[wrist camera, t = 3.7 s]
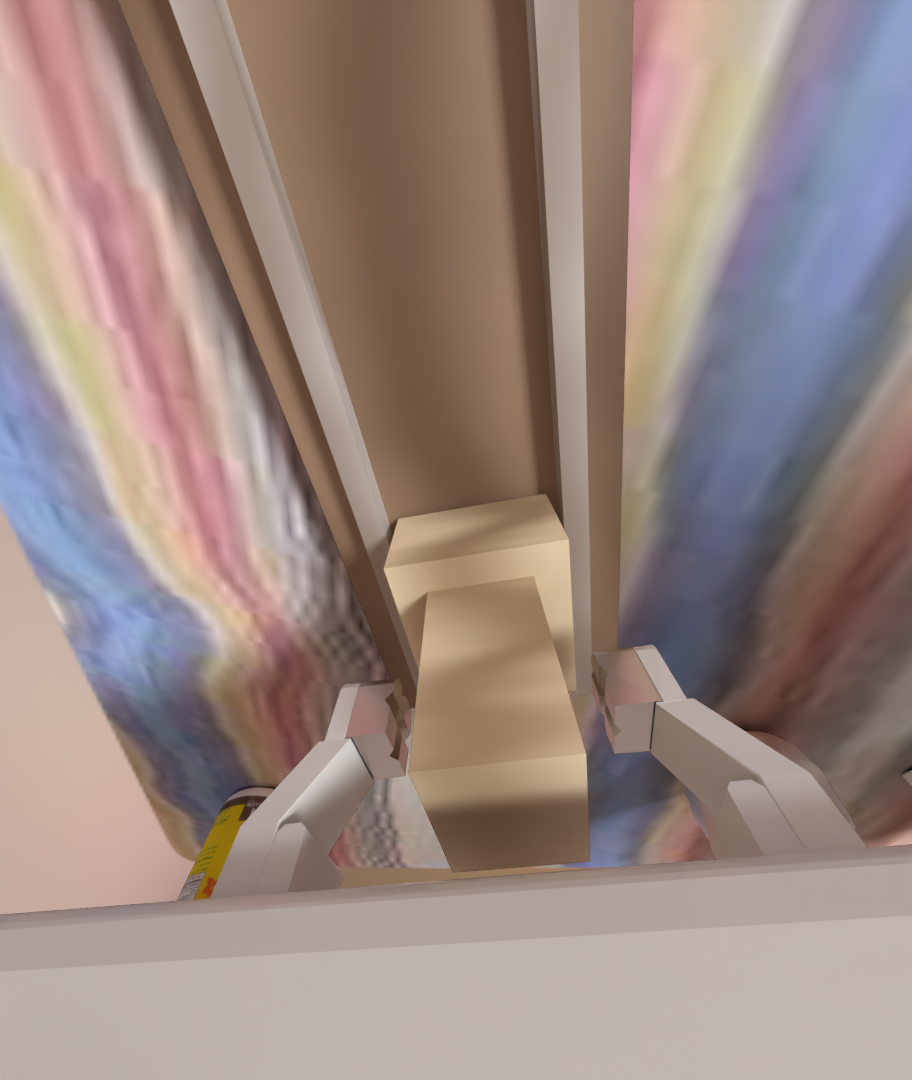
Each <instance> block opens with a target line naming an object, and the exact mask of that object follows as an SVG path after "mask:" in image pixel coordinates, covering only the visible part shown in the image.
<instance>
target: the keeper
mask: <svg viewBox="0 0 912 1080" xmlns="http://www.w3.org/2000/svg"><path fill="white" fill-rule="evenodd" d="M384 571H385V574H386V577H387V580H388V583H389V586H390V589H391V592H392V595H393V597H394V600H395V603H396V606H397V609H398V612H399V615H400V618H401V621H402V624H403V627H404V630H405V632H406V635H407V638H408V641H409V644H410V647H411V650H412V653H413V656H414V659H415V662H416V665H417V667H418V670H419V677H418V686H417V696H416V705H415V715H414V724H413V733H412V743H411V752H410V761H409V771H408V773H409V775H410V778H411V780H412V782H413V784H414V787H415V789H416V791H417V793H418V795H419V798H420V800H421V802H422V804H423V807H424V809H425V811H426V813H427V816H428V818H429V820H430V822H431V825H432V827H433V829H434V831H435V834H436V836H437V838H438V840H439V842H440V845H441V847H442V849H443V851H444V854H445V856H446V858H447V860H448V863H449V865H450V867H451V869H452V871H453V873H454V872H466V871H477V870H491V869H504V868H516V867H529V866H541V865H554V864H567V863H579V862H590V842H589V815H588V787H587V760H586V751H585V748H584V744H583V741H582V738H581V734H580V731H579V728H578V724H577V721H576V717H575V714H574V711H573V707H572V704H571V700H570V697H569V694H568V692H572V691H577V689H576V670H575V650H574V630H573V611H572V591H571V572H570V552H569V539H568V537H567V535H566V533H565V531H564V529H563V527H562V525H561V523H560V521H559V519H558V517H557V515H556V513H555V511H554V509H553V507H552V505H551V503H550V501H549V499H548V497H547V495H546V494H540V495H534V496H529V497H523V498H517V499H511V500H505V501H499V502H494V503H488V504H482V505H476V506H470V507H464V508H459V509H453V510H447V511H441V512H435V513H430V514H424V515H418V516H412V517H406V518H400V519H398V521H397V525H396V528H395V531H394V535H393V538H392V542H391V545H390V549H389V552H388V556H387V559H386V562H385V566H384Z"/></svg>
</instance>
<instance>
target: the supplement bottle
mask: <svg viewBox="0 0 912 1080" xmlns="http://www.w3.org/2000/svg"><path fill="white" fill-rule="evenodd" d="M274 790H275V789H272V788H261V787H257V788H248V789H244V790H241V791H239V792H237V793H235V794H233V795H232V796H231V797H229V798H228V799H227V801H226V802H225V803H224V805H223V807H222V809H221V810H220V813H219V815H218V817H217V819H216V821H215V823H214V825H213V827H212V829H211V831H210V833H209V835H208V837H207V839H206V841H205V843H204V845H203V847H202V850H201V852H200V854H199V856H198V858H197V860H196V862H195V864H194V866H193V868H192V870H191V872H190V874H189V876H188V878H187V880H186V883H185V884H184V887H183V889H182V891H181V893H180V895H179V897H178V899H177V901H183V900H196V899H209V898H210V897H211V894H212V892H213V890H214V887H215V885H216V883H217V880H218V878H219V876H220V873H221V871H222V869H223V866H224V864H225V862H226V859H227V857H228V855H229V852H230V850H231V848H232V845H233V843H234V841H235V838H236V836H237V834H238V831H239V829H240V827H241V825H242V824H243V823H244V822H245V821H246V820H247V819H248V818H249V817H250V816H251V815H252V813H253V812H254V811H255V810H256V809H257V808H258V807H259V806H260V805H261V804H262V803H263V802H264V801H265V799H266V798H267V797H268V796H269V795H270V794H271V793H272V792H273V791H274Z"/></svg>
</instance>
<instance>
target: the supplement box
mask: <svg viewBox="0 0 912 1080" xmlns="http://www.w3.org/2000/svg"><path fill="white" fill-rule="evenodd" d="M903 777H904V779H905V780H906V781H907V782H908V783H909V784H910V785H911V786H912V770H910V771H908V772H906V773H905V774H903Z"/></svg>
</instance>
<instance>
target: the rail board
mask: <svg viewBox="0 0 912 1080" xmlns="http://www.w3.org/2000/svg"><path fill="white" fill-rule="evenodd" d="M118 2H119V4H120V7H121V9H122V12H123V14H124V17H125V19H126V22H127V24H128V27H129V29H130V32H131V34H132V37H133V39H134V42H135V44H136V47H137V49H138V52H139V54H140V57H141V59H142V62H143V64H144V67H145V69H146V72H147V74H148V76H149V79H150V81H151V84H152V86H153V89H154V91H155V94H156V96H157V99H158V101H159V104H160V106H161V109H162V111H163V114H164V116H165V119H166V121H167V124H168V126H169V129H170V131H171V134H172V136H173V139H174V141H175V144H176V146H177V149H178V151H179V154H180V156H181V159H182V161H183V164H184V166H185V169H186V171H187V174H188V176H189V179H190V181H191V184H192V186H193V189H194V191H195V194H196V196H197V199H198V201H199V203H200V206H201V208H202V211H203V213H204V216H205V218H206V221H207V223H208V226H209V228H210V231H211V233H212V236H213V238H214V241H215V243H216V246H217V248H218V251H219V253H220V256H221V258H222V261H223V263H224V266H225V268H226V271H227V273H228V276H229V278H230V281H231V283H232V286H233V288H234V291H235V293H236V296H237V298H238V301H239V303H240V306H241V308H242V311H243V313H244V316H245V318H246V321H247V323H248V325H249V328H250V330H251V333H252V335H253V338H254V340H255V343H256V345H257V348H258V350H259V353H260V355H261V358H262V360H263V363H264V365H265V368H266V370H267V373H268V375H269V378H270V380H271V383H272V385H273V388H274V390H275V393H276V395H277V398H278V400H279V403H280V405H281V408H282V410H283V413H284V415H285V418H286V420H287V423H288V425H289V428H290V430H291V433H292V435H293V438H294V440H295V443H296V445H297V447H298V450H299V452H300V455H301V457H302V460H303V462H304V465H305V467H306V470H307V472H308V475H309V477H310V480H311V482H312V485H313V487H314V490H315V492H316V495H317V497H318V500H319V502H320V505H321V507H322V510H323V512H324V515H325V517H326V520H327V522H328V525H329V527H330V530H331V532H332V535H333V537H334V540H335V542H336V545H337V547H338V550H339V552H340V555H341V557H342V560H343V562H344V565H345V567H346V569H347V572H348V574H349V577H350V579H351V582H352V584H353V587H354V589H355V592H356V594H357V597H358V599H359V602H360V604H361V607H362V609H363V612H364V614H365V617H366V619H367V622H368V624H369V627H370V629H371V632H372V634H373V637H374V639H375V642H376V644H377V647H378V649H379V652H380V654H381V657H382V659H383V662H384V664H385V667H386V669H387V672H388V674H389V677H390V679H399V680H400V682H401V684H402V687H403V688H402V695H403V696H405V697H406V698H407V700H408V703H409V706H410V708H415V705H416V696H417V686H418V677H419V670H418V667H417V665H416V662H415V659H414V656H413V653H412V650H411V647H410V644H409V641H408V638H407V635H406V632H405V630H404V627H403V624H402V621H401V618H400V615H399V612H398V609H397V606H396V603H395V600H394V597H393V595H392V592H391V589H390V586H389V583H388V580H387V577H386V574H385V571H384V566H385V562H386V559H387V556H388V552H389V549H390V545H391V542H392V538H393V535H394V531H395V528H396V525H397V521H398V519H400V518H406V517H412V516H418V515H424V514H430V513H435V512H441V511H447V510H453V509H459V508H464V507H470V506H476V505H482V504H488V503H494V502H499V501H505V500H511V499H517V498H523V497H529V496H534V495H540V494H546V495H547V497H548V499H549V501H550V503H551V505H552V507H553V509H554V511H555V513H556V515H557V517H558V519H559V521H560V523H561V525H562V527H563V529H564V531H565V533H566V535H567V537H568V539H569V552H570V572H571V591H572V611H573V630H574V650H575V670H576V689H577V691H572V692H573V695H574V696H582V695H591V694H593V691H592V679H591V675H592V673H593V672H594V670H593V667H592V664H591V654H592V653H593V652H600V651H607V650H614V649H617V644H618V605H619V566H620V527H621V488H622V449H623V410H624V371H625V332H626V293H627V254H628V215H629V176H630V137H631V98H632V59H633V20H634V0H118Z"/></svg>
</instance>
